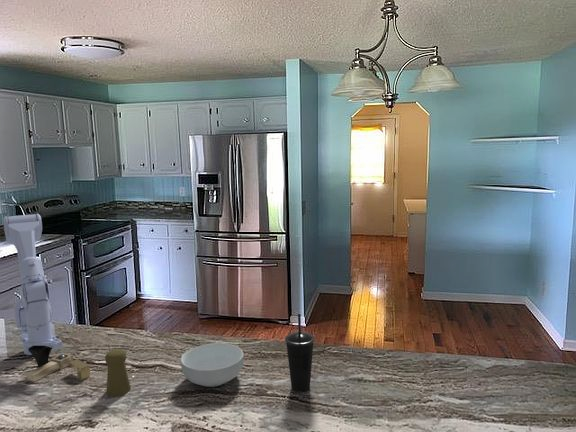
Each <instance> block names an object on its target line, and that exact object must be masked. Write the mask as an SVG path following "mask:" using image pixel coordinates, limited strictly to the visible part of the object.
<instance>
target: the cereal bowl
mask: <svg viewBox="0 0 576 432" xmlns="http://www.w3.org/2000/svg"><path fill="white" fill-rule="evenodd" d="M244 355H245V354H244V352H243V350H242V348H240V347H239V346H237V345H234V344H231V343H223V342H221V343H220V342H217V343H216V342H214V343H207V344H202V345H198V346H196V347H193V348H190V349H189V350H187V351H186V352H184V353H183V354H182V355H181V357H180V366H181V371H182V374H183V375H184V377H185V378H186V380H188V381H189V382H191V383H193V384H195V385H198V386H203V387H206V388H207V387H208V388H209V387H211V388H215V387H218V386H222V385H224V384H225V383H227V382H230V381H232V380H233V379H235V378H236V377H238V375H239V374H240V373H241V371H242V369H243V366H244V360H245V359H244Z"/></svg>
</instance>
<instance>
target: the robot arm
mask: <svg viewBox="0 0 576 432" xmlns="http://www.w3.org/2000/svg"><path fill="white" fill-rule="evenodd" d="M2 219H3V220H2V221H3V229H4V235H5V241H6V242H7V244H10V245H13V246H14V247H15V249H16V253H17V260H18V267H19V268H18V269H19V276H20V283H21V286H20V293H21V294H20V295H21V297H20V298H19V299H18V300H17V301H16V302H14V305H13V309H14V311H13V314H14V321H15V322H14V323H15V327H16V328H17V329H20V330H21V334H20V335H19V342H20V343H22V348H23V353H24V355H26V356H32V357H33V358H34V360H35V362H36V364H37V368H39V367H41V366H43V365H45V364H47V363H49V357H50V354H51V351H52V349H53V350H55V351H58V350H60V349H62V348H63V341H62V340H60V339H58V338H57V337H56V329H55V326H54V324H53V322H51V321H52V320H53V315H52V313H53V312H52V306H51V303H50V299H51V298H50V297H51V292H50V285H49V282H48V280H47V276H45V272H44V267H43V266H44V265H43V262H42V260H41V259H39V258H37V248H36V242H37V241H40V240H41V237H42V232H43V222H42V216H41V215H40V214H39V213H34V214H23V215H22V214H21V215H13V216H11V215H10V216H7V215H5V216H4V217H3V218H2Z"/></svg>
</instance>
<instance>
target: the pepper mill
mask: <svg viewBox="0 0 576 432" xmlns="http://www.w3.org/2000/svg"><path fill="white" fill-rule="evenodd" d="M104 360H105V364H106V365H107V377H106V378H107V379H106V395H107V396H108V397H111V398H116V397H121V396H124V395H127V394H128V393H130V392H131V390H132V388H131V387H132V386H131V382H130V379H129V374H128V370H127V366H126V360H127V352H126V351H125V350H124V349H121V348H116V349H112V350H109V351H107V353H106V354H105V356H104Z"/></svg>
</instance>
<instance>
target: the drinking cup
mask: <svg viewBox="0 0 576 432" xmlns="http://www.w3.org/2000/svg"><path fill="white" fill-rule="evenodd" d="M301 318H302V315H301V313H298V314H297V329H298V330H297V331H294V332H292V333H291V332H290V333H289V334H287V335H285V338H284V342H285V344H286V350H287V351H286V352H287V353H286V354H287V361H288V368H289V375H290V376H289V377H290V385H291V389H292V391H293V392H296V393H304V392H307V391H309V390H310V388H311V376H312V364H313V354H314V353H313V352H314V351H313V350H314V343H315V339H316V338H315V336H314V335H313V334H311V333H308V332H305V331H302V319H301Z"/></svg>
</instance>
